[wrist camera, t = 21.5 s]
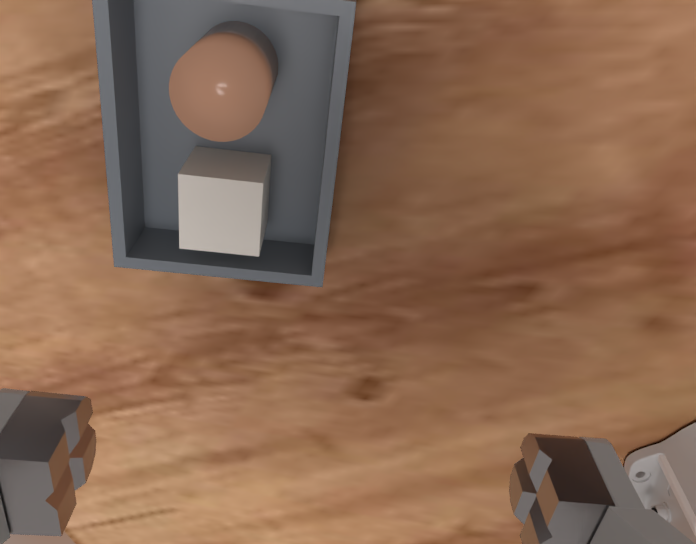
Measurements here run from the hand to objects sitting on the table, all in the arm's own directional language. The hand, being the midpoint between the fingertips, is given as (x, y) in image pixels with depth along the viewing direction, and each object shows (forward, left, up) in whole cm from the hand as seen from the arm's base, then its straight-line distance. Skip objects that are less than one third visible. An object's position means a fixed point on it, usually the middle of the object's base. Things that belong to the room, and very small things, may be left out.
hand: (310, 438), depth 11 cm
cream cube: (-8, +6, -30) cm, 32 cm away
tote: (-4, +6, -31) cm, 32 cm away
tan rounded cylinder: (0, +6, -30) cm, 31 cm away
